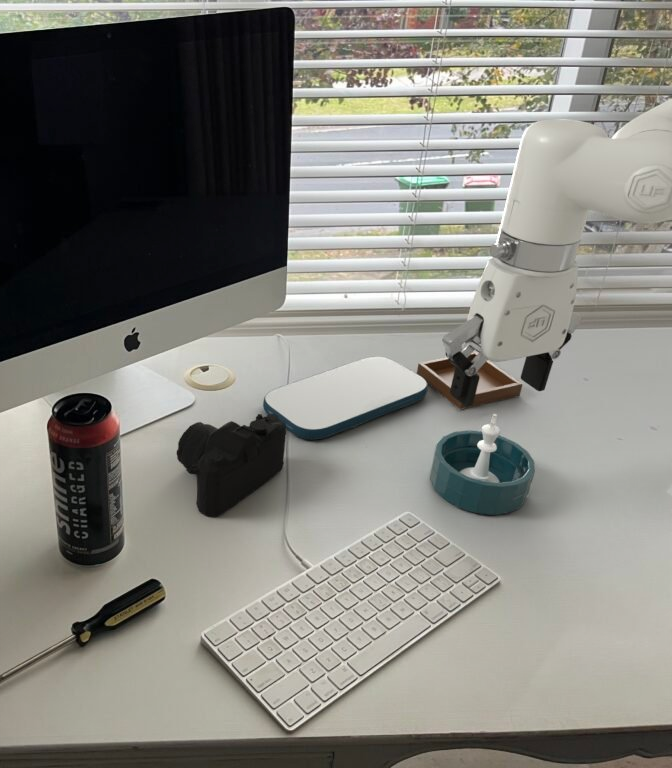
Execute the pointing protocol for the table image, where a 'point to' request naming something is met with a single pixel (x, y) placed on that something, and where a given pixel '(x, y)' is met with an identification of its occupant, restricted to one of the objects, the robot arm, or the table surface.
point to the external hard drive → (344, 397)
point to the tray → (490, 384)
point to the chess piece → (485, 454)
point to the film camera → (232, 460)
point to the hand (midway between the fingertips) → (496, 392)
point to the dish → (475, 494)
